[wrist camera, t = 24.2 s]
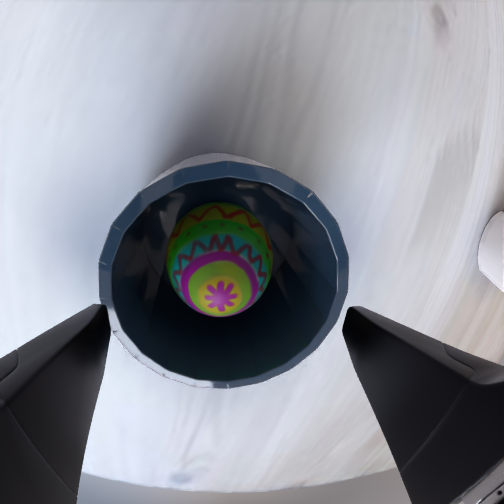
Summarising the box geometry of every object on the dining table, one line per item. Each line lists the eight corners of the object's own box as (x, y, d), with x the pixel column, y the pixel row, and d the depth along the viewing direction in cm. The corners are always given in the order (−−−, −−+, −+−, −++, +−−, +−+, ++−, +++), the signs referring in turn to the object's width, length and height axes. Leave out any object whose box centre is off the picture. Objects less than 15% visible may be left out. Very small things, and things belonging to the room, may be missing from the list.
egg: (276, 260, 17) (304, 321, 11) (196, 292, 17) (191, 362, 12) (244, 179, 15) (262, 206, 10) (157, 216, 15) (128, 263, 10)
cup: (108, 203, 15) (52, 247, 9) (256, 125, 15) (295, 114, 8) (187, 327, 18) (185, 411, 12) (316, 264, 18) (370, 329, 12)
